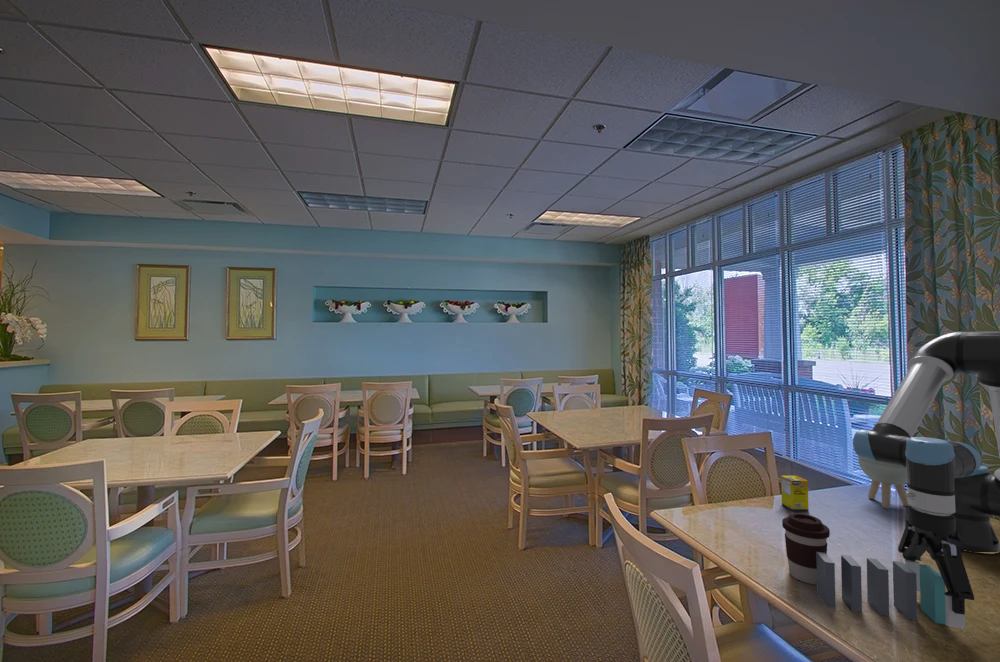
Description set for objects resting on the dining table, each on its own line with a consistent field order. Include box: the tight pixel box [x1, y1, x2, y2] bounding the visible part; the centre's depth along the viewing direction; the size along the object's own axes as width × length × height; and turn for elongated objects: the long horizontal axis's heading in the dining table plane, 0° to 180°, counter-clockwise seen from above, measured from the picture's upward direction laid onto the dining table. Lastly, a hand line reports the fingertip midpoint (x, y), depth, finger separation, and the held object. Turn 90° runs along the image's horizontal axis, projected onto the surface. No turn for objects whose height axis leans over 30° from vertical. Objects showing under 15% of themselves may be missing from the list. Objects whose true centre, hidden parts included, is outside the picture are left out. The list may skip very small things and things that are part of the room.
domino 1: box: [816, 552, 837, 609], centre depth 100 cm, size 2×5×10 cm, turn 163°
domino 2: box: [840, 554, 863, 612], centre depth 99 cm, size 2×5×10 cm, turn 163°
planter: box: [857, 455, 910, 510], centre depth 158 cm, size 16×16×22 cm
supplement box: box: [780, 475, 809, 512], centre depth 155 cm, size 6×6×11 cm
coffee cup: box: [781, 512, 831, 585], centre depth 110 cm, size 10×10×15 cm
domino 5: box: [919, 563, 946, 625], centre depth 94 cm, size 2×5×10 cm, turn 163°
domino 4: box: [892, 560, 918, 621], centre depth 96 cm, size 2×5×10 cm, turn 163°
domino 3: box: [866, 557, 890, 616], centre depth 97 cm, size 2×5×10 cm, turn 163°
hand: (933, 607), depth 94 cm, fingers open, 13 cm apart
